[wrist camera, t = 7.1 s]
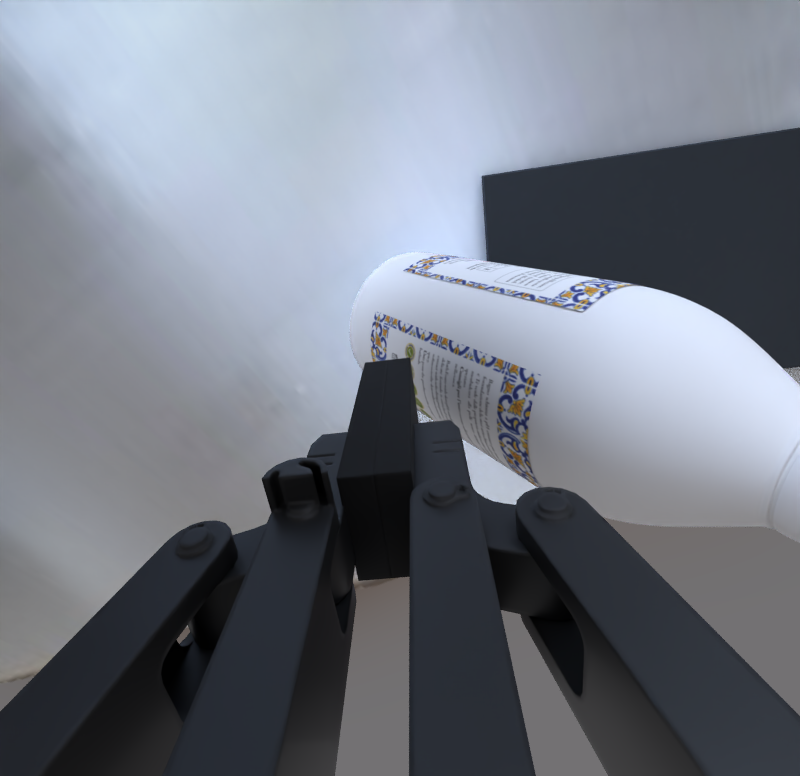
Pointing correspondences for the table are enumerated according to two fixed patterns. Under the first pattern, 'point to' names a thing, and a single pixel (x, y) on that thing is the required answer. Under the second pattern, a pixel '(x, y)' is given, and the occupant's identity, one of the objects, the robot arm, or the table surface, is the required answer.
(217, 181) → the table surface
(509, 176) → the mat
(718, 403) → the bath foam
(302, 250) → the table surface
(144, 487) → the table surface
